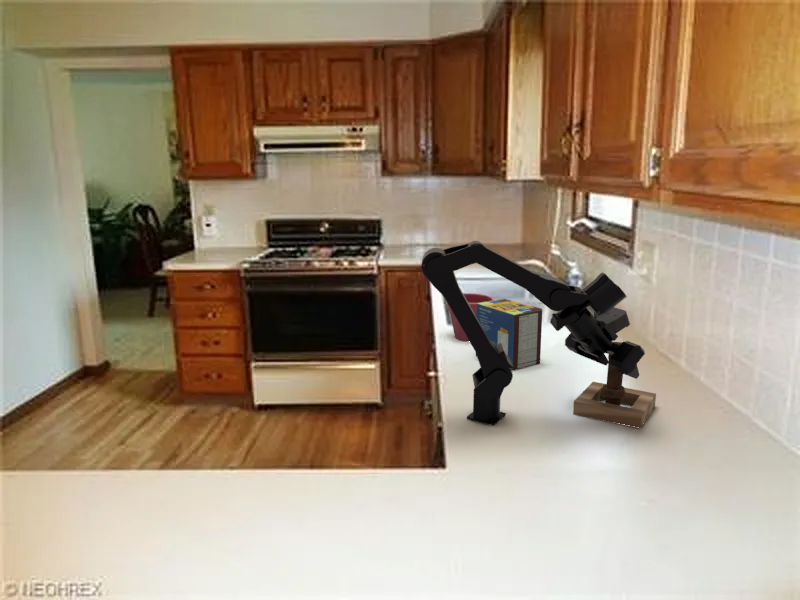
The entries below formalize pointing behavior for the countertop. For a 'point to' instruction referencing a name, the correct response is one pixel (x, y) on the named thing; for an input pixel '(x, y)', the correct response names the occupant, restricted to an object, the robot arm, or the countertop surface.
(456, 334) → the plant pot
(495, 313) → the protein box
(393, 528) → the countertop surface
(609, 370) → the bolt
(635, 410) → the block
